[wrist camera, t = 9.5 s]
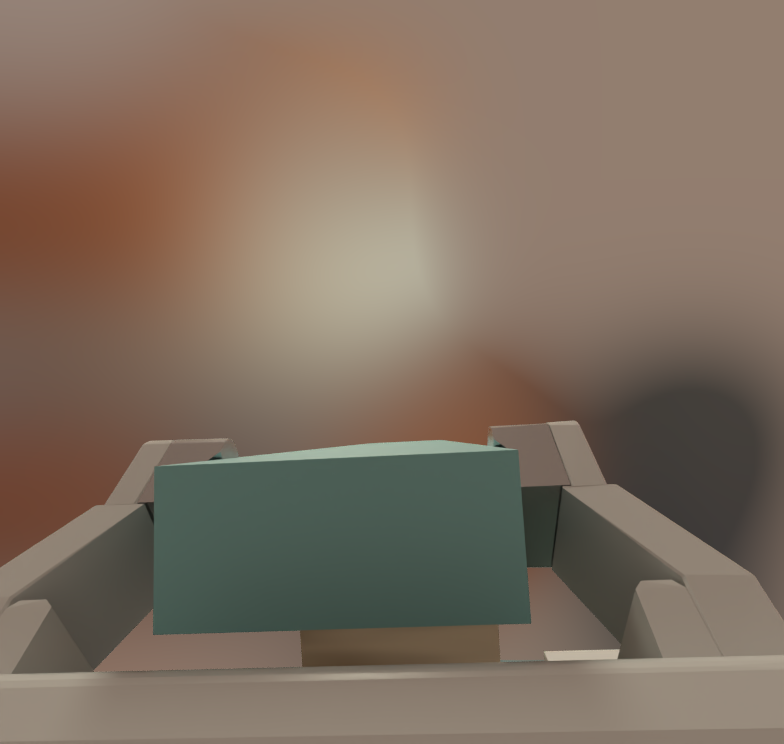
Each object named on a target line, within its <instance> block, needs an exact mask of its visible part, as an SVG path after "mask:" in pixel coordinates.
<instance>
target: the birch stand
mask: <svg viewBox="0 0 784 744" xmlns="http://www.w3.org/2000/svg"><path fill="white" fill-rule="evenodd" d="M300 636H301V652H302V667H322V666H362V665H402V664H441V663H482V662H500V648H499V629H498V625H464V626H431V627H398V628H364V629H331V630H300Z"/></svg>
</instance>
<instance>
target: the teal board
mask: <svg viewBox="0 0 784 744" xmlns="http://www.w3.org/2000/svg"><path fill="white" fill-rule="evenodd" d="M498 624H531V614H530V602H529V587H528V574H527V561H526V547H525V534H524V521H523V507H522V494H521V480H520V467H519V454H518V450H517V449H509V448H501V447H492V446H484V445H477V444H468V443H461V442H451V441H444V440H433V441H412V442H391V443H371V444H361V445H351V446H342V447H332V448H323V449H314V450H304V451H295V452H286V453H276V454H267V455H257V456H248V457H238V458H229V459H219V460H210V461H200V462H191V463H182V464H172V465H163V466H154V586H153V635H163V634H193V633H194V634H197V633H228V632H229V633H230V632H262V631H297V630H331V629H364V628H398V627H431V626H464V625H498Z"/></svg>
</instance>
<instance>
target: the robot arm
mask: <svg viewBox="0 0 784 744" xmlns="http://www.w3.org/2000/svg"><path fill="white" fill-rule="evenodd" d="M488 446H492V447H501V448H509V449H517V450H518V454H519V467H520V480H521V494H522V507H523V521H524V534H525V547H526V561H527V567H552V570H553V571H554V572H555V573H556V574H557V576H558V577H559V578H560V579H561V580H562V581H563V582H564V583H565V584H566V585H567V586H568V587H569V588H570V590H571V591H572V592H573V593H574V594H575V595H576V596H577V597H578V598H579V599H580V600H581V601H582V602H583V604H584V605H585V606H586V607H587V608H588V609H589V610H590V611H591V612H592V613H593V614H594V615H595V617H596V618H597V619H598V620H599V621H600V622H601V623H602V624H603V625H604V626H605V627H606V628H607V629H608V631H609V632H610V633H611V634H612V635H613V636H614V637H615V638H616V639H617V640H618V641H619V642H620V643H621V647H620V650H619V654H618V658H617V659H603V660H563V661H522V662H482V663H441V664H402V665H362V666H322V667H286V668H285V667H283V668H243V669H204V670H203V669H202V670H159V671H120V672H119V671H118V672H94V671H93V670H94V669H95V668H96V667H97V666H98V665H99V664H100V663H101V662H102V661H103V660H104V659H105V658H106V657H107V656H108V655H109V654H110V653H111V652H112V651H113V650H114V648H115V647H116V646H117V645H118V644H119V643H120V642H121V641H122V640H123V639H124V638H125V637H126V636H127V635H128V634H129V633H130V632H131V631H132V630H133V629H134V628H135V627H136V626H137V625H138V624H139V623H140V622H141V621H142V619H143V618H144V617H145V616H146V615H147V614H148V613H149V612H150V611H151V610H152V609H153V586H154V466H163V465H172V464H182V463H191V462H200V461H210V460H219V459H229V458H238V457H239V455H238V452H237V449H236V446H235V443H234V441H232V440H231V439H193V440H192V439H190V440H189V439H188V440H176V441H175V440H163V441H149V442H147V443H145V444H143V446H142V447H141V449H140V450H139V452H138V453H137V455H136V456H135V458H134V459H133V461H132V463H131V464H130V466H129V467H128V469H127V470H126V472H125V474H124V475H123V477H122V478H121V480H120V481H119V483H118V485H117V486H116V488H115V489H114V491H113V492H112V494H111V495H110V497H109V499H108V500H107V502H106V503H105V505H98V506H94V507H93V508H91V509H90V510H88V511H87V512H85V513H84V514H82V515H81V516H79V517H77V518H76V519H74V520H73V521H71V522H70V523H68V524H67V525H65V526H64V527H62V528H61V529H59V530H57V531H56V532H54V533H53V534H51V535H50V536H48V537H47V538H45V539H44V540H42V541H41V542H39V543H37V544H36V545H34V546H33V547H31V548H30V549H28V550H27V551H25V552H24V553H22V554H21V555H19V556H17V557H16V558H14V559H13V560H12V561H10V562H9V563H7V564H5V565H4V566H2V567H1V568H0V744H784V621H783V619H782V618H781V616H780V615H779V613H778V612H777V610H776V608H775V607H774V605H773V604H772V602H771V601H770V599H769V598H768V596H767V595H766V593H765V591H764V590H763V589H762V587H761V585H760V584H759V582H758V581H757V579H756V578H755V576H754V575H753V574H751V573H750V572H748V571H747V570H745V569H744V568H742V567H741V566H739V565H738V564H736V563H735V562H733V561H732V560H730V559H729V558H727V557H726V556H724V555H722V554H721V553H720V552H718V551H716V550H715V549H713V548H712V547H710V546H709V545H707V544H706V543H704V542H703V541H701V540H700V539H698V538H697V537H695V536H694V535H692V534H691V533H689V532H688V531H686V530H684V529H683V528H682V527H680V526H678V525H677V524H675V523H674V522H672V521H671V520H669V519H668V518H666V517H665V516H663V515H662V514H660V513H659V512H657V511H656V510H654V509H653V508H651V507H650V506H648V505H647V504H645V503H644V502H642V501H641V500H639V499H638V498H636V497H635V496H633V495H632V494H630V493H628V492H627V491H625V490H624V489H622V488H621V487H619V486H618V485H616V484H608V485H607V484H606V481H605V479H604V477H603V475H602V473H601V471H600V468H599V466H598V464H597V462H596V460H595V458H594V455H593V453H592V451H591V449H590V447H589V445H588V442H587V440H586V438H585V436H584V434H583V432H582V430H581V427H580V425H579V423H577V422H576V421H564V422H549V423H546V424H531V425H530V424H529V425H511V426H492V427H489V430H488Z"/></svg>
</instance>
